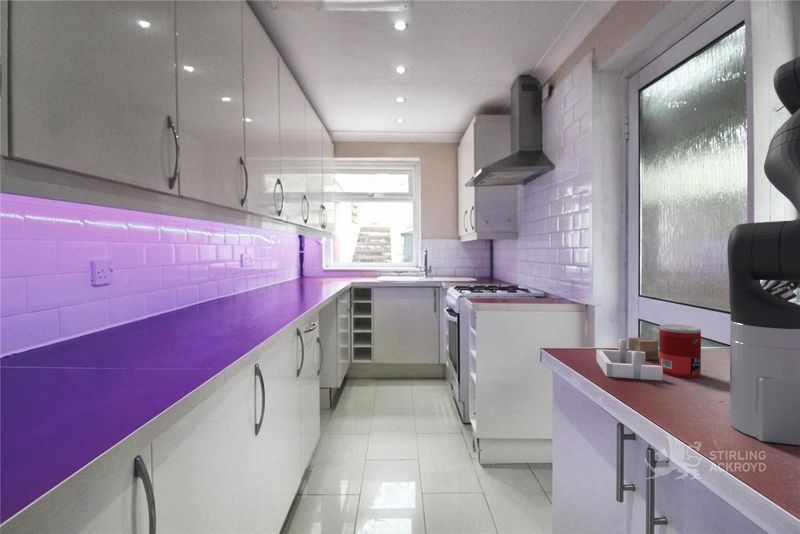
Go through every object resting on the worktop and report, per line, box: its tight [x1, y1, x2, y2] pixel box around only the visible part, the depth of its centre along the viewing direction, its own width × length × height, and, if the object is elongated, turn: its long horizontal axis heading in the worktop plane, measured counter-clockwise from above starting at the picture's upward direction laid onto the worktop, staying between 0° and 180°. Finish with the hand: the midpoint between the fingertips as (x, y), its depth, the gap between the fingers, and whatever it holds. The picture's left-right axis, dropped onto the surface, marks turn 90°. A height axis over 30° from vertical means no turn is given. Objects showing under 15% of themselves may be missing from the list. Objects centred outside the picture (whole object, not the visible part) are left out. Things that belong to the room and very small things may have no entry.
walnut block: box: [627, 336, 659, 361], centre depth 106 cm, size 5×5×5 cm
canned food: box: [658, 323, 702, 379], centre depth 91 cm, size 8×8×11 cm
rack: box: [595, 338, 664, 382], centre depth 95 cm, size 15×11×6 cm
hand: (738, 317), depth 87 cm, fingers closed
